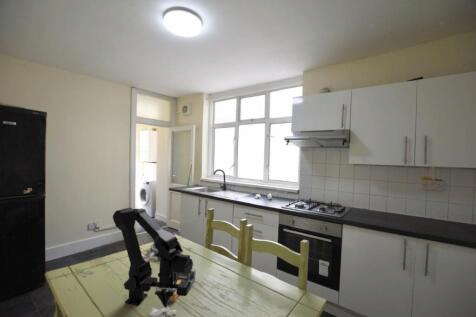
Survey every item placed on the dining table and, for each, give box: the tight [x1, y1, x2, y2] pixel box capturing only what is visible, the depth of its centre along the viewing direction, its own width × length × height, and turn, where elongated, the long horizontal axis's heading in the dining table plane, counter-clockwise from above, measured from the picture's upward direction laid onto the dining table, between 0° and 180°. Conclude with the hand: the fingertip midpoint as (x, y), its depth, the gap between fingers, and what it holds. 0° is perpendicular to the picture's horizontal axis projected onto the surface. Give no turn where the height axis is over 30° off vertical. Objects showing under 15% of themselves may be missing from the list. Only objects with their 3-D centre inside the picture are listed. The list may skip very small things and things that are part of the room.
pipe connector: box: [142, 247, 158, 263], centre depth 118 cm, size 10×10×10 cm
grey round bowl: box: [149, 240, 182, 260], centre depth 136 cm, size 18×18×5 cm
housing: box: [174, 268, 197, 288], centre depth 105 cm, size 6×10×6 cm, turn 83°
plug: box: [169, 273, 190, 302], centre depth 99 cm, size 16×4×4 cm, turn 173°
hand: (165, 306), depth 86 cm, fingers closed
